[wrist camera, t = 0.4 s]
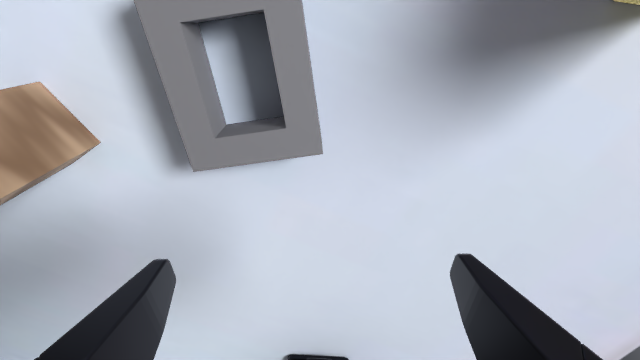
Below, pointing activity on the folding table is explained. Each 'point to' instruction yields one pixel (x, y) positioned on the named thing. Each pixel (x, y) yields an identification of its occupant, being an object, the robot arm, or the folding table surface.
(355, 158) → the folding table surface
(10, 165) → the slat
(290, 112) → the gray block with hole
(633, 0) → the candy box
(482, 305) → the robot arm
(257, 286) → the folding table surface
